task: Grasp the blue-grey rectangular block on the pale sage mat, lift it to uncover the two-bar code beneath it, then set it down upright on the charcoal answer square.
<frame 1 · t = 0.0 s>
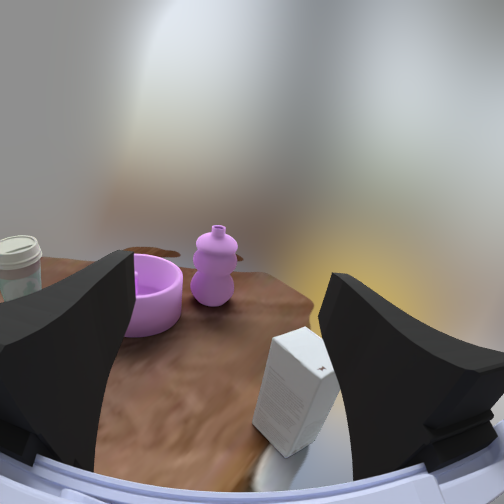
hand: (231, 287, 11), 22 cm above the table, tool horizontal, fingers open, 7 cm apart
coffee cup: (28, 318, 36), on the table
container set: (162, 306, 48), on the table
skincare box: (282, 433, 28), on the table
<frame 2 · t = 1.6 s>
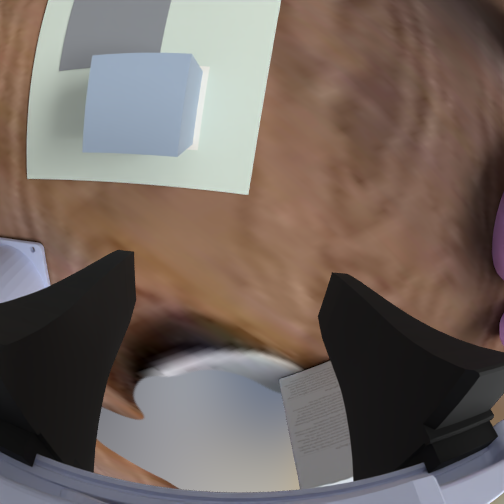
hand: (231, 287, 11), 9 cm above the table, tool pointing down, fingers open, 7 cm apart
blue-grey rectangular block: (160, 105, 16), resting on code mat
code mat: (137, 58, 14), on the table
skincare box: (313, 378, 27), on the table
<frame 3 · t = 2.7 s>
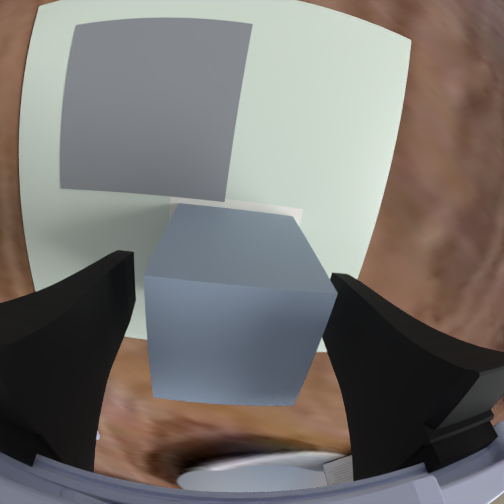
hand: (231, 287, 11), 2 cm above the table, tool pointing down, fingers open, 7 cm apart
blue-grey rectangular block: (229, 260, 13), resting on code mat
code mat: (188, 182, 11), on the table
skincare box: (352, 458, 24), on the table
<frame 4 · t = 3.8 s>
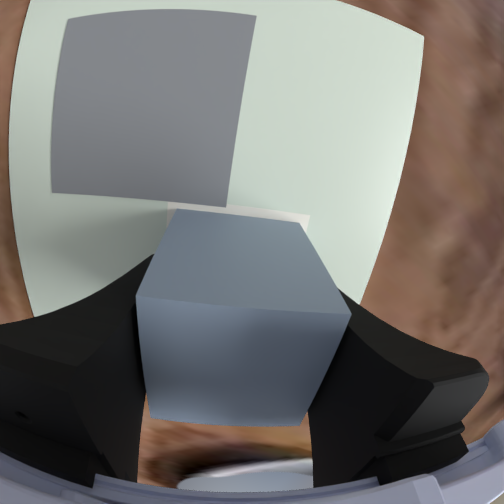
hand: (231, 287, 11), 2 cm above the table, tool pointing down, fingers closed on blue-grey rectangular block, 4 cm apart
blue-grey rectangular block: (231, 269, 12), resting on code mat, touching gripper
code mat: (186, 186, 11), on the table
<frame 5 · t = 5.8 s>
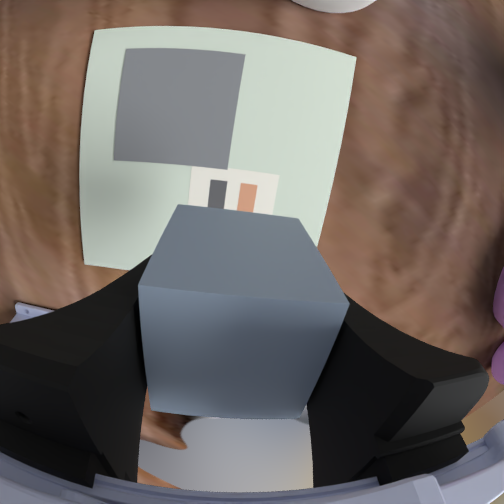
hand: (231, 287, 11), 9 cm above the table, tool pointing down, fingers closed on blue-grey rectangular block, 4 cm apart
blue-grey rectangular block: (231, 264, 12), point 7 cm above the table, touching gripper
code mat: (203, 157, 17), on the table
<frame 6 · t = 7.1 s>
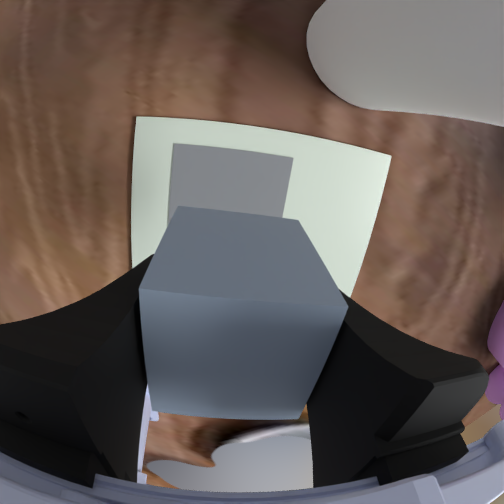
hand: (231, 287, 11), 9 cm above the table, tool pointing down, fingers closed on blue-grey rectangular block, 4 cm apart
blue-grey rectangular block: (231, 266, 12), point 7 cm above the table, touching gripper
code mat: (251, 251, 20), on the table
bottle: (365, 51, 15), on the table
when the fingers open (3 cm above the table, at t = 9.0 s): blue-grey rectangular block drops 1 cm, resting on code mat.
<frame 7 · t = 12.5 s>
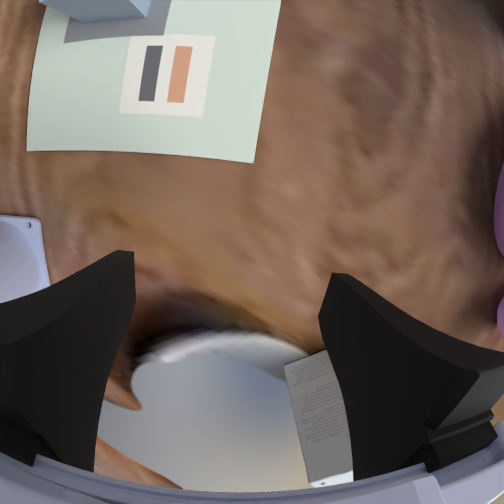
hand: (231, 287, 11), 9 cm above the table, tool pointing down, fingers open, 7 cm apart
code mat: (142, 29, 13), on the table
skincare box: (319, 364, 27), on the table
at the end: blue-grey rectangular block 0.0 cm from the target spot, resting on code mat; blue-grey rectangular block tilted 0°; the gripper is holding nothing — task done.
